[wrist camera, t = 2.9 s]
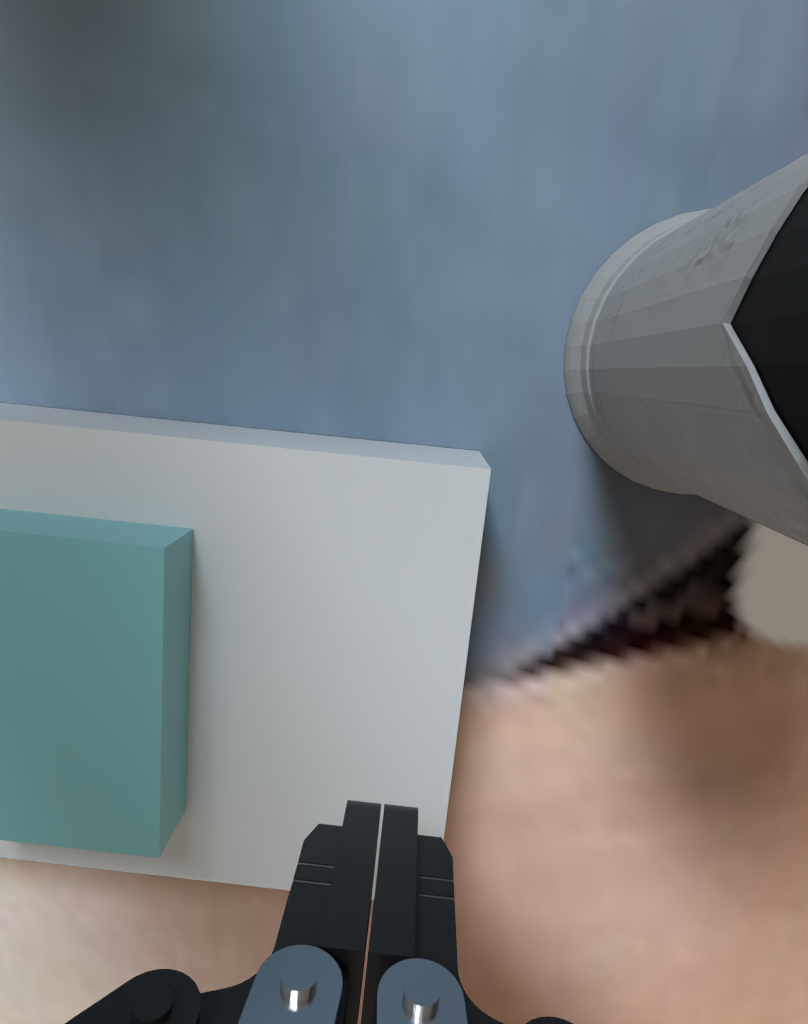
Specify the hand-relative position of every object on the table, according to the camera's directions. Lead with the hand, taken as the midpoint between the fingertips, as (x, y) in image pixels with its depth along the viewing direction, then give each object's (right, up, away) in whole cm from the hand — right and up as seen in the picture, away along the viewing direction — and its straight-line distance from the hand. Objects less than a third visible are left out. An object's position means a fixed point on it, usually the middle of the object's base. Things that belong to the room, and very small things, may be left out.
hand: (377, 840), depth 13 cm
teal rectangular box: (-9, +2, +6) cm, 11 cm away
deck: (-8, +3, +9) cm, 12 cm away
